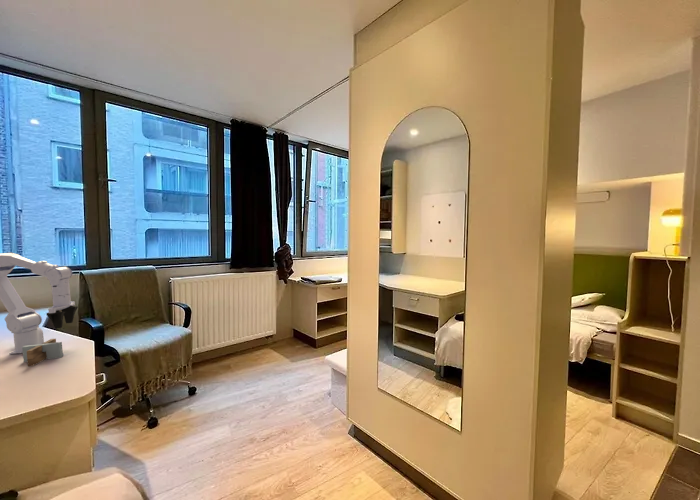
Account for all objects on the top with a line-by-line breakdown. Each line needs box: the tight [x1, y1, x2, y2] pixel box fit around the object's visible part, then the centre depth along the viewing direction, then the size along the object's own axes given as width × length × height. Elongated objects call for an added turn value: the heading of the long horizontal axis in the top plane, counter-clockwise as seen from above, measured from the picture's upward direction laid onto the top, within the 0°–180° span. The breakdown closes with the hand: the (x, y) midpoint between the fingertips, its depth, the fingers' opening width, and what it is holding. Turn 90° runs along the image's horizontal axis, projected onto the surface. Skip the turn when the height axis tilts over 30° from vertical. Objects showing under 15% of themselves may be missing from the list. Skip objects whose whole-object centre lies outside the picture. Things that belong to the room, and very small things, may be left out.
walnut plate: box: [27, 338, 57, 367], centre depth 123 cm, size 14×2×6 cm, turn 16°
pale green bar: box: [22, 341, 64, 363], centre depth 123 cm, size 2×12×6 cm, turn 106°
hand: (64, 325), depth 133 cm, fingers open, 7 cm apart
